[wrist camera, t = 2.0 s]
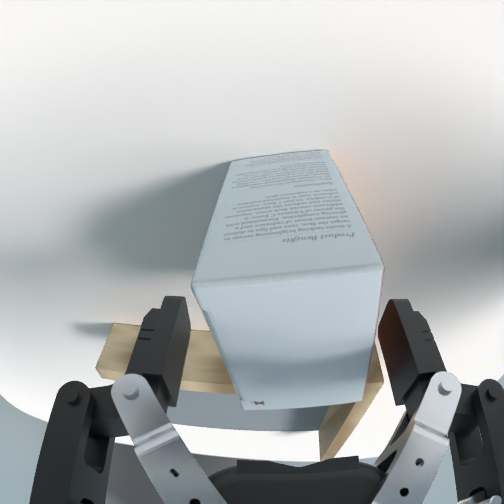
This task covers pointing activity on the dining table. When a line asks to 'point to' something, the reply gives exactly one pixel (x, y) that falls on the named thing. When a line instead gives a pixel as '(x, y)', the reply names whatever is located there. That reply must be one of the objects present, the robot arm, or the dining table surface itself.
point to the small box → (290, 283)
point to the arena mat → (240, 414)
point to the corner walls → (218, 380)
